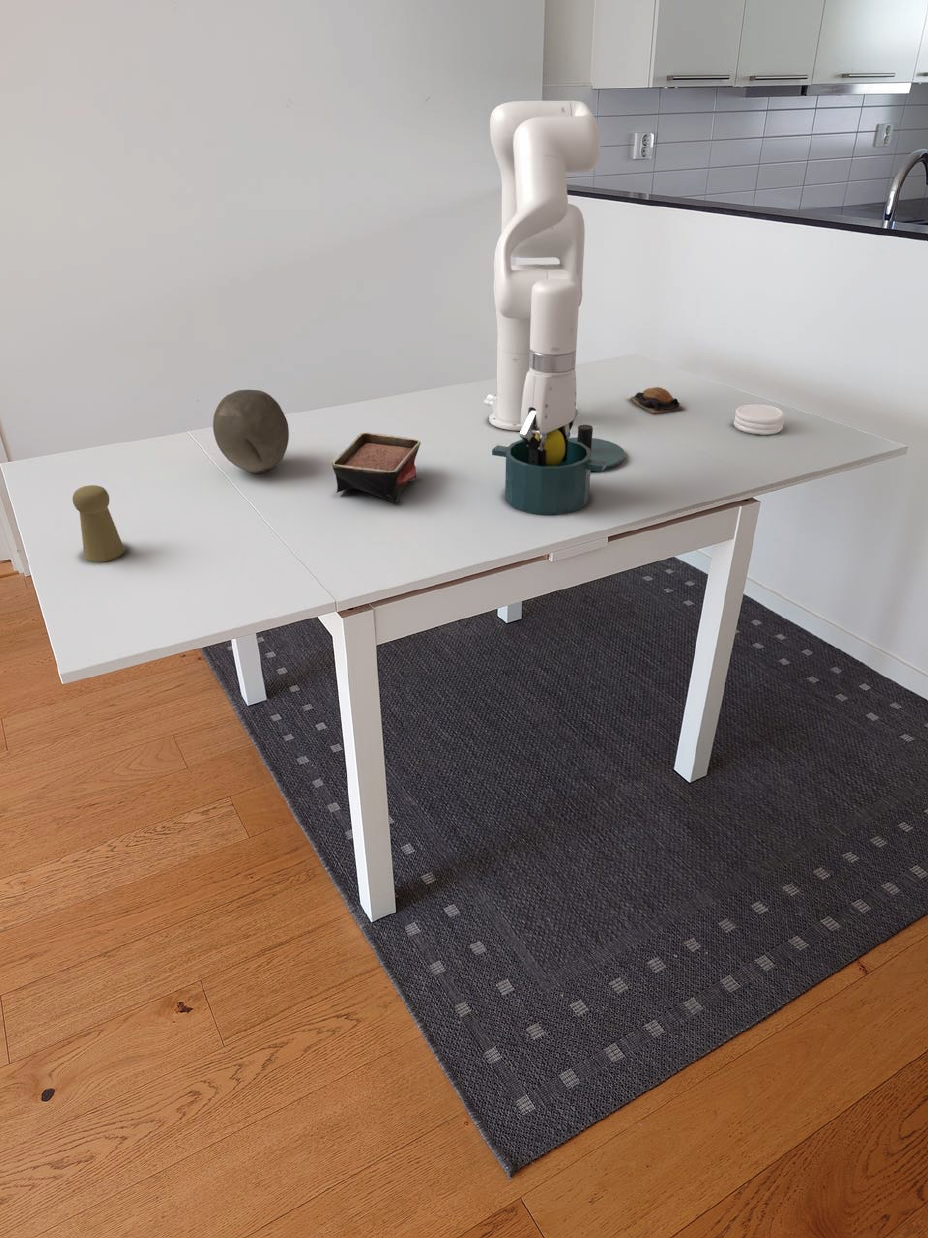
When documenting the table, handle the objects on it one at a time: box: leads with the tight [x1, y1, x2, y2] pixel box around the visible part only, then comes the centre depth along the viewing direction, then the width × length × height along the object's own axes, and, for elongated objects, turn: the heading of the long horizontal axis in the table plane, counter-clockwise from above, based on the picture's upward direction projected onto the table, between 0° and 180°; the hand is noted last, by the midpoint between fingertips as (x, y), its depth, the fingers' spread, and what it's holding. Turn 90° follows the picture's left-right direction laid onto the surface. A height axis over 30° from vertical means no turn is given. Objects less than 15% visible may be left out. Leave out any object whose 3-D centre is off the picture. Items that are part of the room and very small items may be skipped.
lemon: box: [535, 429, 565, 466], centre depth 152 cm, size 6×6×8 cm
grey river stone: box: [212, 389, 290, 474], centre depth 165 cm, size 14×14×15 cm
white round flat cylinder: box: [733, 403, 786, 436], centre depth 185 cm, size 10×10×4 cm
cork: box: [72, 484, 126, 563], centre depth 137 cm, size 6×6×11 cm
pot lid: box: [569, 424, 626, 469], centre depth 171 cm, size 16×16×6 cm
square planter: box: [331, 432, 422, 504], centre depth 159 cm, size 14×18×10 cm
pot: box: [491, 438, 607, 516], centre depth 155 cm, size 15×20×8 cm
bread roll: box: [630, 386, 683, 415], centre depth 198 cm, size 11×8×4 cm
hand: (547, 463), depth 154 cm, fingers closed on lemon, 5 cm apart
